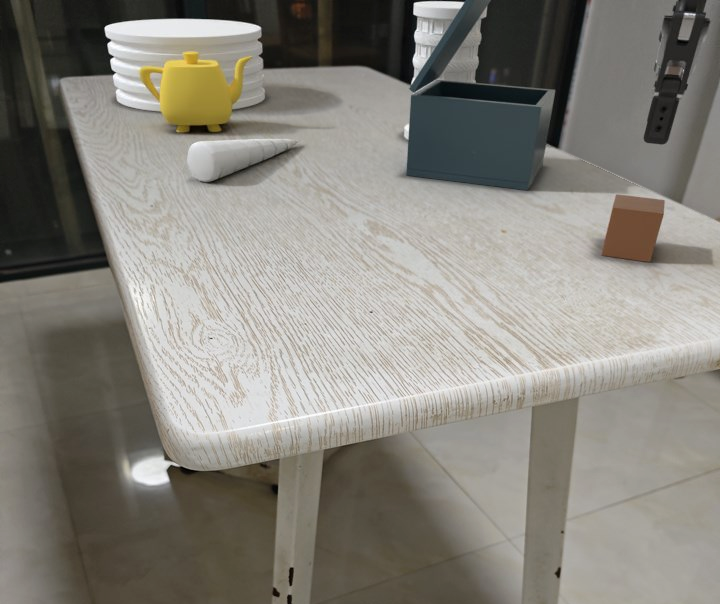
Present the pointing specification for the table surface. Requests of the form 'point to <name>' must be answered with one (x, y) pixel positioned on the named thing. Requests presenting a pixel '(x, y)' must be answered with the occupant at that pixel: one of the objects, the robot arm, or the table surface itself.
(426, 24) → the decorative container
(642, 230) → the carton
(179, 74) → the teapot
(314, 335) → the table surface
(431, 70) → the lid
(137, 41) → the plate stack
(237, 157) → the unicorn horn
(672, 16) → the robot arm
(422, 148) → the slate grey rectangular box
